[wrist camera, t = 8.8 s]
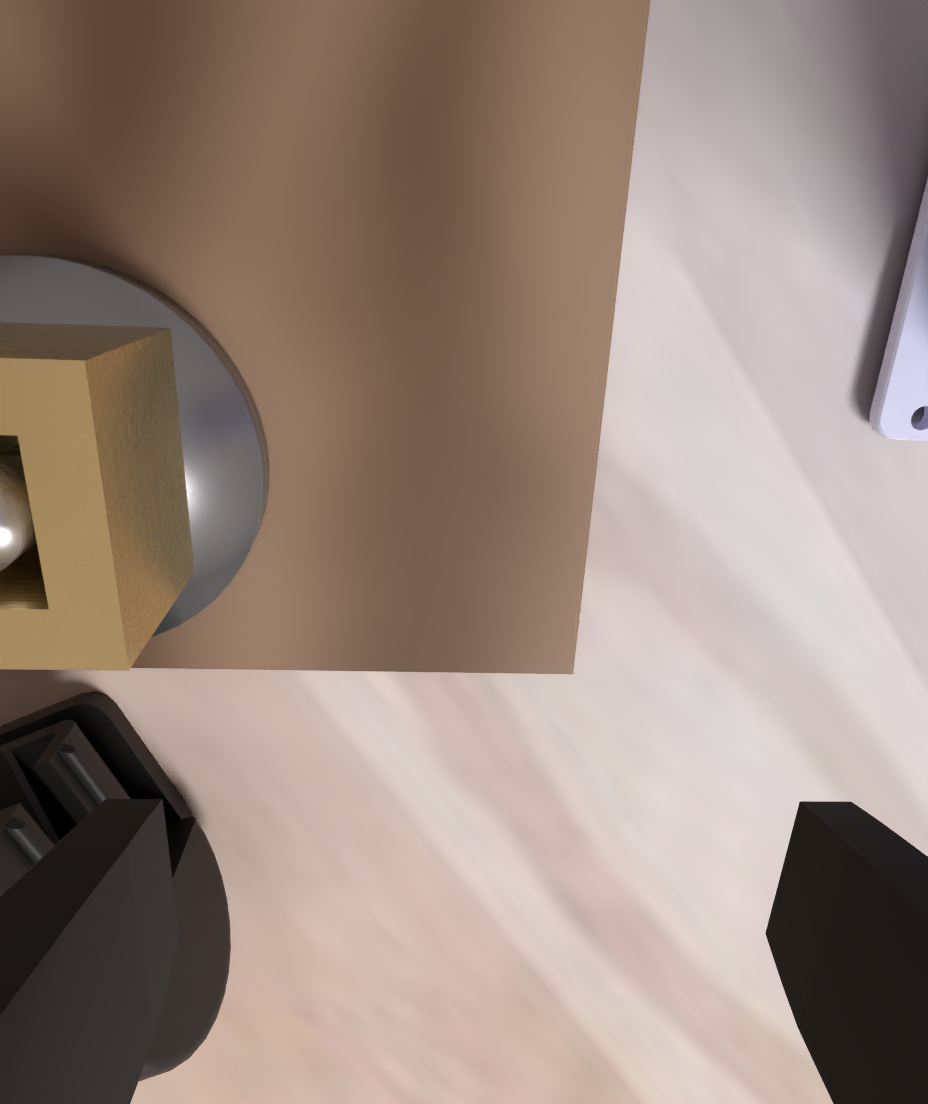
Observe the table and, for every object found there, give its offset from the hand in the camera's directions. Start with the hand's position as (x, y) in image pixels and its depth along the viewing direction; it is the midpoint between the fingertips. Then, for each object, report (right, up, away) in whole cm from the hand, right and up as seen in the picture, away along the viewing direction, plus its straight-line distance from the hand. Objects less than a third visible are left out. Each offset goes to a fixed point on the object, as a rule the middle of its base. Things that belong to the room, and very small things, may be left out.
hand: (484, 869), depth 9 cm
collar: (-8, +6, +6) cm, 12 cm away
